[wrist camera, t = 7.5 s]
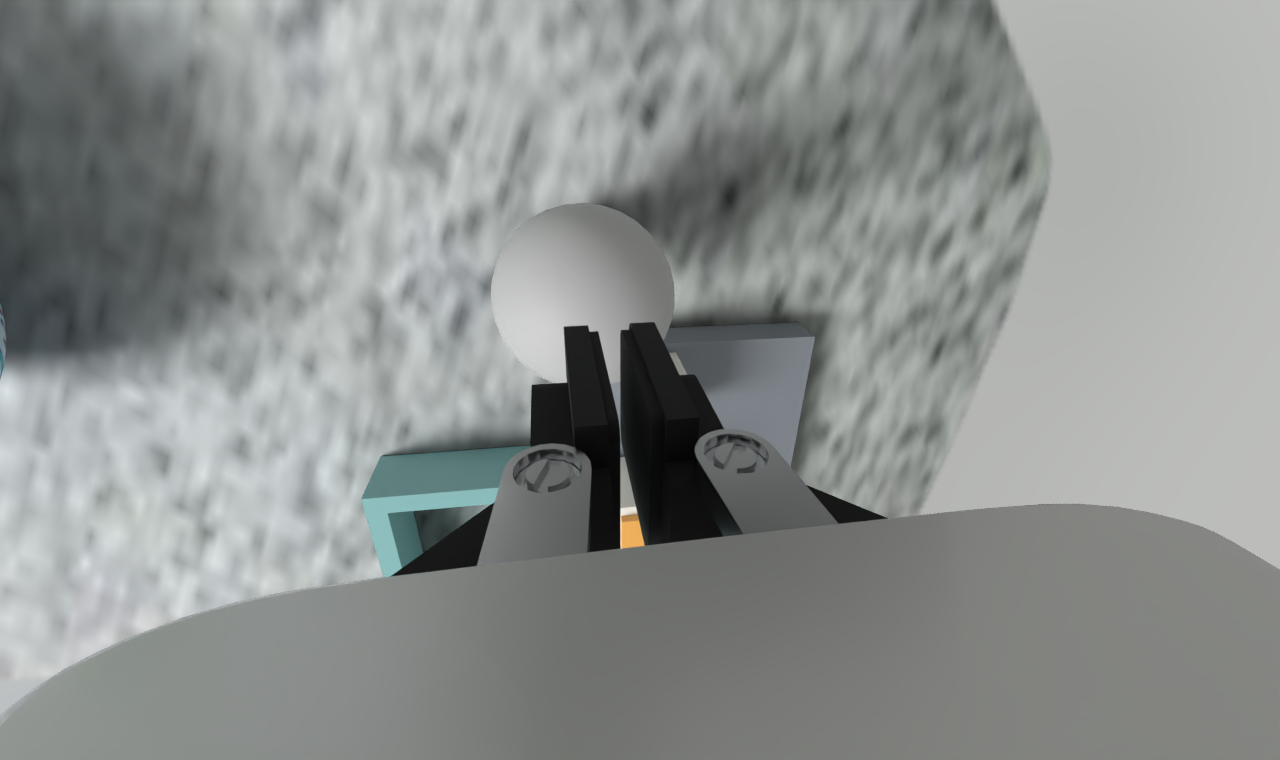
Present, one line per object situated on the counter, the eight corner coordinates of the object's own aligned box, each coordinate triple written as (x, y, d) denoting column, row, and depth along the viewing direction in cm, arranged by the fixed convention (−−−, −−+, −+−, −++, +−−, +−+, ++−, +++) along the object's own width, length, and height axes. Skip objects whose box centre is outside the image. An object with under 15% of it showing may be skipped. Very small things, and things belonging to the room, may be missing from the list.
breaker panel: (576, 331, 27) (584, 387, 22) (798, 322, 29) (855, 371, 24) (585, 560, 34) (593, 642, 29) (761, 541, 36) (798, 615, 31)
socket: (380, 456, 29) (360, 499, 25) (558, 443, 30) (560, 482, 27) (412, 581, 33) (399, 630, 30) (566, 565, 34) (568, 610, 31)
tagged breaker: (603, 458, 28) (612, 514, 24) (649, 454, 29) (665, 509, 25) (603, 502, 30) (612, 561, 26) (647, 498, 30) (662, 556, 26)
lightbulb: (592, 145, 23) (625, 177, 14) (660, 261, 26) (728, 356, 16) (478, 222, 24) (433, 305, 14) (557, 327, 27) (564, 454, 17)
